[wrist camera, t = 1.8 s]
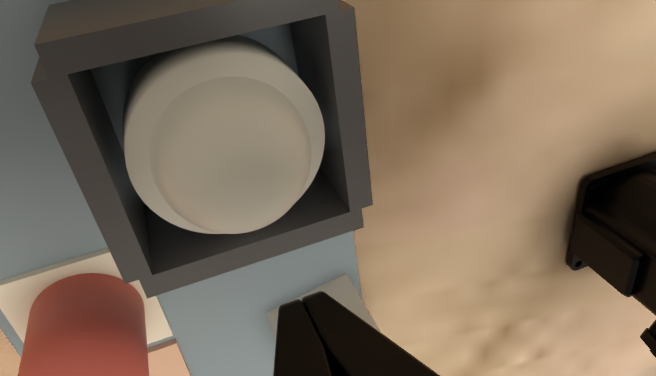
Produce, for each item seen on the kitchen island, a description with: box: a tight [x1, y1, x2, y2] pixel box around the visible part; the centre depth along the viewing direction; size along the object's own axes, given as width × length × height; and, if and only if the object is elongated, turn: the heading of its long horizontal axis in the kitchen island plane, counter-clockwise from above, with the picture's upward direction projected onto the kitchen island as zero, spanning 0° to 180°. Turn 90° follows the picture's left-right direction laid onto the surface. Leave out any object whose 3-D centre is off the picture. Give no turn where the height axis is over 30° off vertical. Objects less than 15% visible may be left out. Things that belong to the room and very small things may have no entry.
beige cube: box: [267, 274, 381, 338], centre depth 24 cm, size 4×4×4 cm
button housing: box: [31, 0, 373, 299], centre depth 16 cm, size 8×8×4 cm
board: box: [0, 0, 362, 376], centre depth 22 cm, size 14×26×2 cm, turn 7°
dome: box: [123, 35, 325, 234], centre depth 15 cm, size 6×6×4 cm
